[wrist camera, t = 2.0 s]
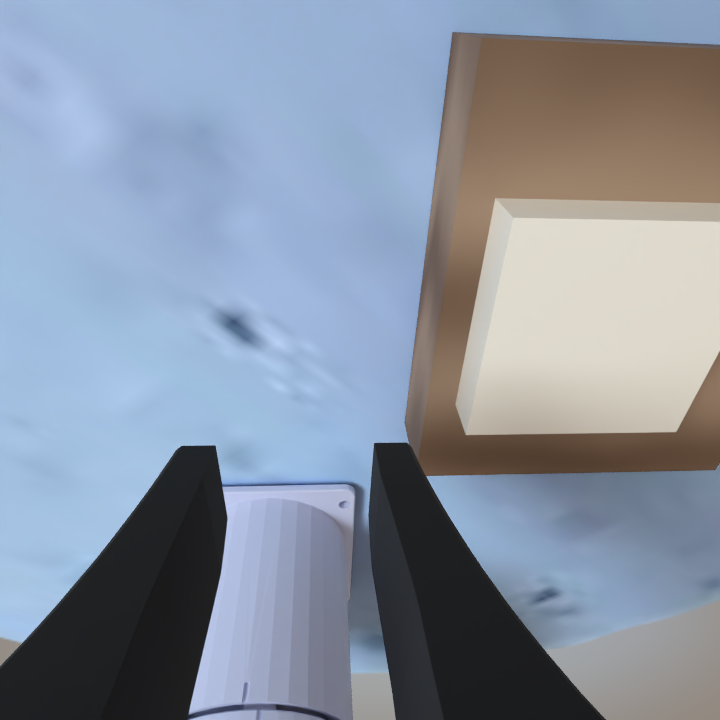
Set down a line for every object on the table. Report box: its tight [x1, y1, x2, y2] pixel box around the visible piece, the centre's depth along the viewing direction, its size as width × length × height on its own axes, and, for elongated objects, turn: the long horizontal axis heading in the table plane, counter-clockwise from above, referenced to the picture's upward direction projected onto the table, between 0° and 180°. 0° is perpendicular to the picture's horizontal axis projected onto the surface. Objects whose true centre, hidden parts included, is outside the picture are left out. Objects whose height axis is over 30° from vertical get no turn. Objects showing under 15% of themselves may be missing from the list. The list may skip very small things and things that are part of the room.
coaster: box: [455, 198, 720, 435], centre depth 15 cm, size 7×7×2 cm
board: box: [405, 32, 720, 476], centre depth 17 cm, size 14×12×3 cm
